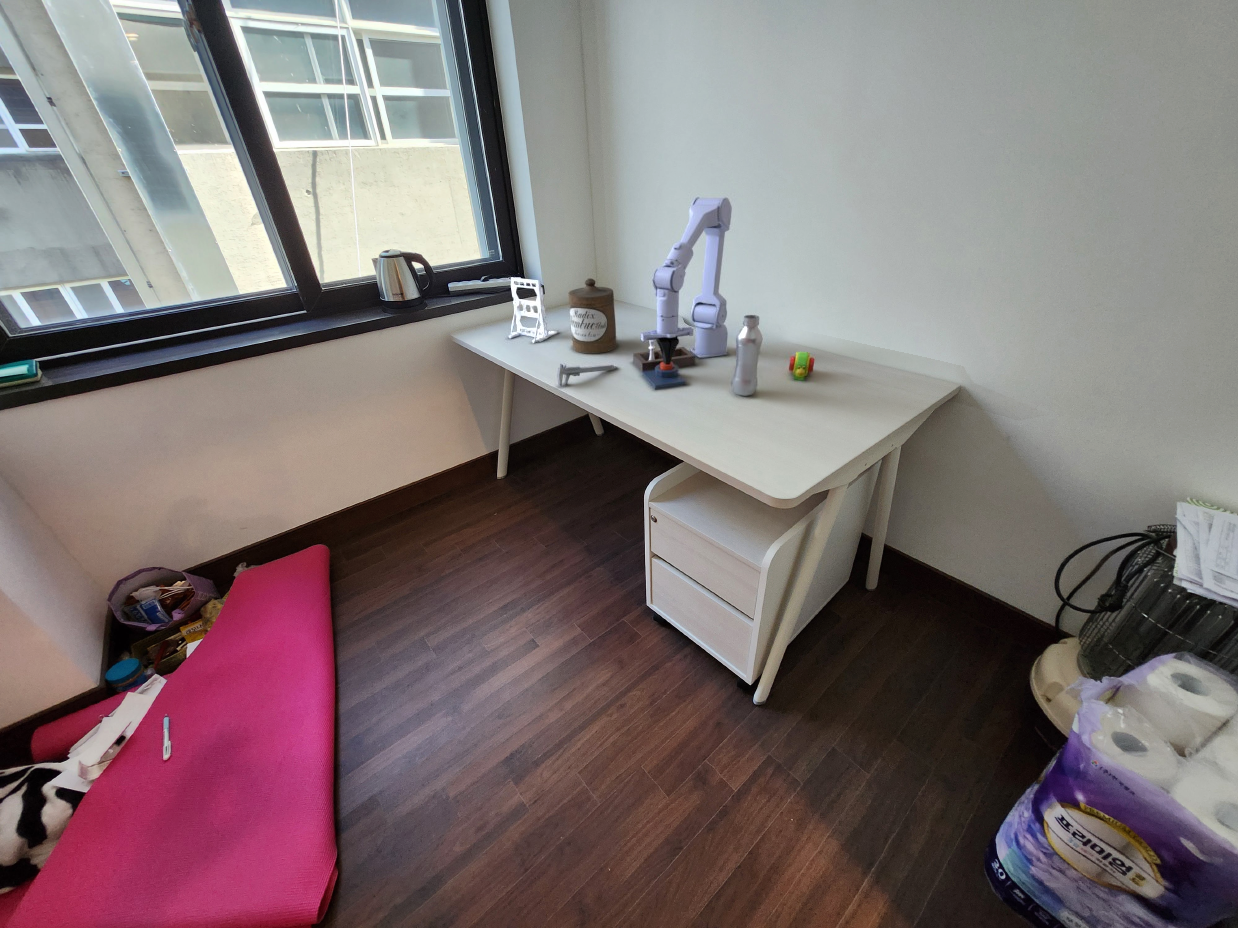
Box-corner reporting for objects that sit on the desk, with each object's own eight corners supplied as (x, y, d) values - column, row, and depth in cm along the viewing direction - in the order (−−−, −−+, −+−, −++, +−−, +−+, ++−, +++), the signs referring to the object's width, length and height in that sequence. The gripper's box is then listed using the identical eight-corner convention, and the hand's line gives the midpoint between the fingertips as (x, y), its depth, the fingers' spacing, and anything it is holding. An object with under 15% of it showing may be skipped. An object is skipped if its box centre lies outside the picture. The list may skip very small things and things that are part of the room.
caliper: (560, 387, 135) (558, 365, 131) (558, 386, 135) (556, 364, 132) (617, 368, 145) (616, 348, 142) (614, 367, 146) (614, 347, 143)
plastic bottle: (742, 400, 123) (750, 322, 112) (725, 391, 128) (732, 316, 117) (761, 395, 125) (771, 318, 115) (744, 386, 130) (752, 312, 120)
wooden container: (565, 351, 160) (558, 282, 148) (584, 338, 172) (579, 273, 160) (606, 356, 155) (602, 285, 143) (623, 342, 167) (620, 275, 155)
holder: (683, 355, 153) (683, 346, 151) (695, 365, 145) (695, 356, 144) (633, 362, 149) (632, 353, 147) (642, 373, 142) (642, 363, 140)
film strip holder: (561, 332, 178) (555, 276, 168) (536, 343, 168) (528, 284, 158) (531, 328, 185) (524, 273, 174) (506, 338, 175) (497, 280, 165)
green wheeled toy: (786, 381, 132) (790, 358, 129) (790, 357, 148) (794, 336, 144) (811, 384, 130) (815, 360, 127) (812, 359, 146) (816, 338, 142)
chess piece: (661, 363, 147) (662, 331, 142) (657, 369, 144) (657, 336, 138) (646, 362, 149) (646, 330, 144) (641, 367, 145) (641, 335, 140)
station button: (670, 366, 138) (670, 360, 137) (674, 371, 136) (675, 364, 134) (658, 368, 138) (658, 362, 137) (662, 372, 135) (663, 366, 134)
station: (672, 371, 142) (672, 361, 140) (686, 385, 133) (687, 374, 131) (642, 375, 140) (642, 365, 138) (654, 389, 131) (655, 379, 129)
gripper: (646, 321, 124) (647, 371, 131) (698, 315, 127) (696, 364, 134) (638, 314, 129) (639, 363, 137) (688, 309, 132) (686, 356, 140)
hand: (666, 363), depth 136 cm, fingers closed, pressing on station button
